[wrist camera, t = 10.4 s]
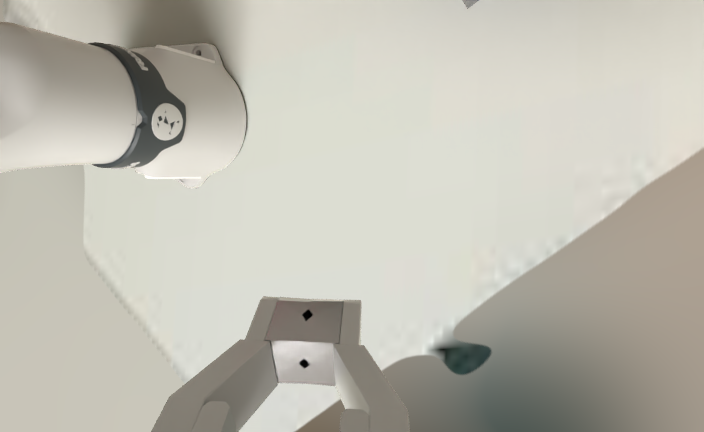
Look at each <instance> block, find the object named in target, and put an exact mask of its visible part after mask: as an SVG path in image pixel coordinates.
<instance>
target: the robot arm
mask: <svg viewBox="0 0 704 432" xmlns="http://www.w3.org/2000/svg"><path fill="white" fill-rule="evenodd" d="M200 53H201V56H200ZM245 132H246V110H245V105H244V101H243V98H242V95H241V92H240V90H239V88H238V86H237V85H236V83H235V81H234V80H233V79H232V77H231V76H230V75H229V74H228V73H227V71H226V70H225V68H224V67H223V64H222V61H221V58H220V55H219V53H218V50H217V49H216V47H215V46H214V45H212V44H208V43H197V44H183V45H170V46H163V45H156V47H142V48H130V49H126V48H123V47H120V46H116V45H111V44H104V43H96V42H95V43H88V44H86V43H83V42H79V41H76V40H72V39H69V38H65V37H61V36H58V35H54V34H51V33H47V32H43V31H40V30H36V29H33V28H29V27H25V26H22V25H18V24H14V23H8V22H0V173H4V172H8V171H13V170H20V169H28V168H39V167H49V166H63V165H81V164H92V165H94V166H97V167H101V168H111V169H127V168H134V169H135V172H137V173H139V174H143V175H144V176H145V177H146V178H149V179H175V180H176V181H178V182H180V183H181V184H183V185H184V186H186V187H188V188H199V187H200V186H201V185H202V184H203V183H204V182H205V181H206V179H207V178H208V177H209V176H210V175H212V174H214V173H216V172H219V171H221V170H223V169H224V168H226V167H227V166H228V165H229V164H230V163H231V162H232V161H233V160H234V159H235V157H236V156H237V154H238V153H239V151H240V149H241V146H242V144H243V141H244V137H245ZM278 383H302V384H317V385H330V386H336V389H337V392H338V394H339V396H340V398H341V400H342V402H343V404H344V407H345V409H346V410H345V411H343V412H342V413H341V421H340V431H339V432H410V429H409V416H408V410H407V409H406V407H405V405H404V404H403V403H402V401H401V400H400V398H399V397H398V395H397V394H396V392H395V391H394V389H393V388H392V386H391V385H390V383H389V382H388V380H387V379H386V378H385V376H384V375H383V373H382V371H381V370H380V368H379V367H378V365H377V364H376V362H375V361H374V359H373V358H372V356H371V355H370V354H369V352H368V351H367V349H366V348H365V346H364V345H361V300H332V299H301V298H286V297H265V296H263V298H262V299H261V300H260V302H259V305H258V308H257V310H256V313H255V315H254V318H253V320H252V323H251V326H250V328H249V331H248V333H247V336H246V339H245V340H239V341H238V342H237V343H235V344H234V345H233V346H232V347H230V348H229V349H228V350H227V351H225V352H224V353H223V354H222V355H220V356H219V357H218V358H217V359H216V360H214V361H213V362H212V363H211V364H209V365H208V366H207V367H206V368H204V369H203V370H202V371H201V372H199V373H198V374H197V375H196V376H195V377H193V378H192V379H191V380H190V381H188V382H187V383H186V384H185V385H183V386H182V387H181V388H180V389H178V390H177V391H176V392H175V393H173V394H172V395H171V396H170V397H169V399H168V400H167V402H166V404H165V406H164V408H163V410H162V412H161V414H160V416H159V418H158V420H157V421H156V423H155V425H154V427H153V429H152V431H151V432H238V431H239V430H240V429H241V428H242V427H243V425H244V424H245V423H246V422H247V421H248V419H249V418H250V417H251V416H252V415H253V414H254V412H255V411H256V410H257V409H258V408H259V406H260V405H261V404H262V403H263V402H264V401H265V399H266V398H267V397H268V396H269V395H270V393H271V392H272V391H273V390H274V389H275V387H276V386H277V385H278Z"/></svg>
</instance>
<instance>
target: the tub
mask: <svg viewBox="0 0 704 432" xmlns="http://www.w3.org/2000/svg"><path fill="white" fill-rule="evenodd" d="M477 1H478V0H463V2H464V4H465V5H466V7H467V9H468V8H469V7H470V6H472V5H473V4H474V3H476V2H477Z"/></svg>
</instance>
